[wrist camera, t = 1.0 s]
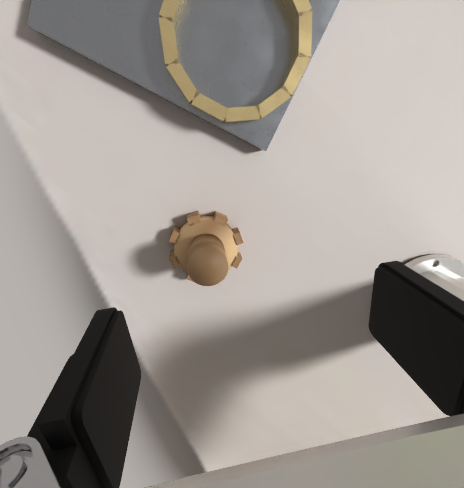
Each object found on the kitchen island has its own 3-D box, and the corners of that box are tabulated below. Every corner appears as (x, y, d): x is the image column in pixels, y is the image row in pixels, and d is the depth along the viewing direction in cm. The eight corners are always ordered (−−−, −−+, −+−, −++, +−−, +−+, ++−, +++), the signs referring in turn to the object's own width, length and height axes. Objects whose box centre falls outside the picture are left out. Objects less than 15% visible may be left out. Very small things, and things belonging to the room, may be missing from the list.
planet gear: (253, 227, 29) (264, 246, 24) (222, 285, 31) (228, 314, 26) (186, 198, 27) (184, 212, 22) (159, 262, 29) (151, 288, 24)
